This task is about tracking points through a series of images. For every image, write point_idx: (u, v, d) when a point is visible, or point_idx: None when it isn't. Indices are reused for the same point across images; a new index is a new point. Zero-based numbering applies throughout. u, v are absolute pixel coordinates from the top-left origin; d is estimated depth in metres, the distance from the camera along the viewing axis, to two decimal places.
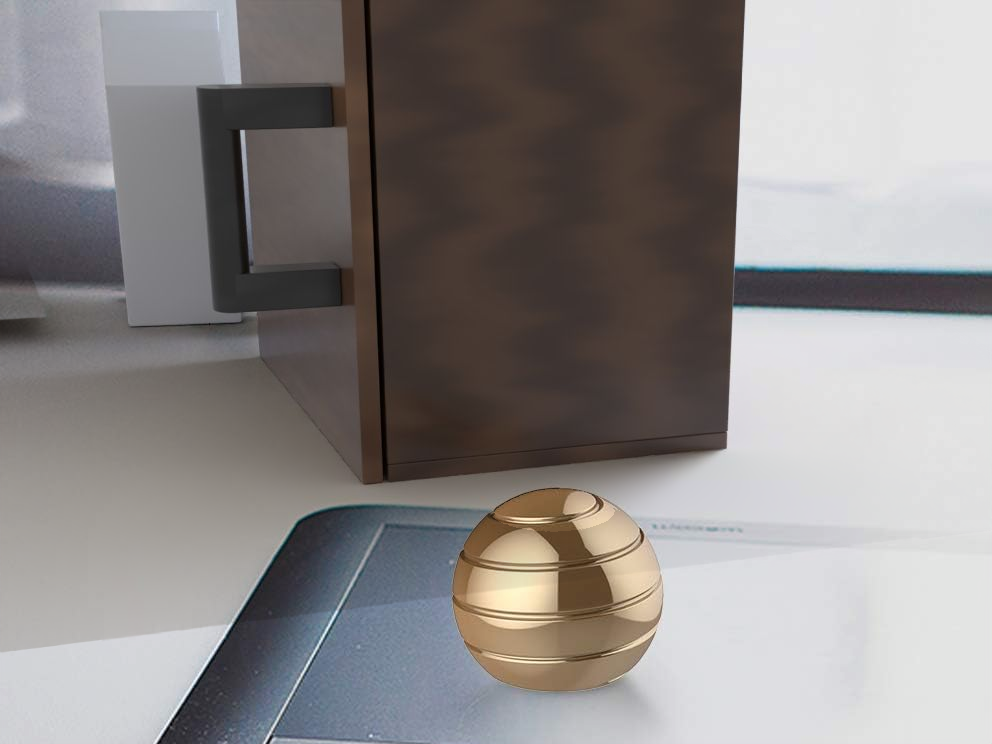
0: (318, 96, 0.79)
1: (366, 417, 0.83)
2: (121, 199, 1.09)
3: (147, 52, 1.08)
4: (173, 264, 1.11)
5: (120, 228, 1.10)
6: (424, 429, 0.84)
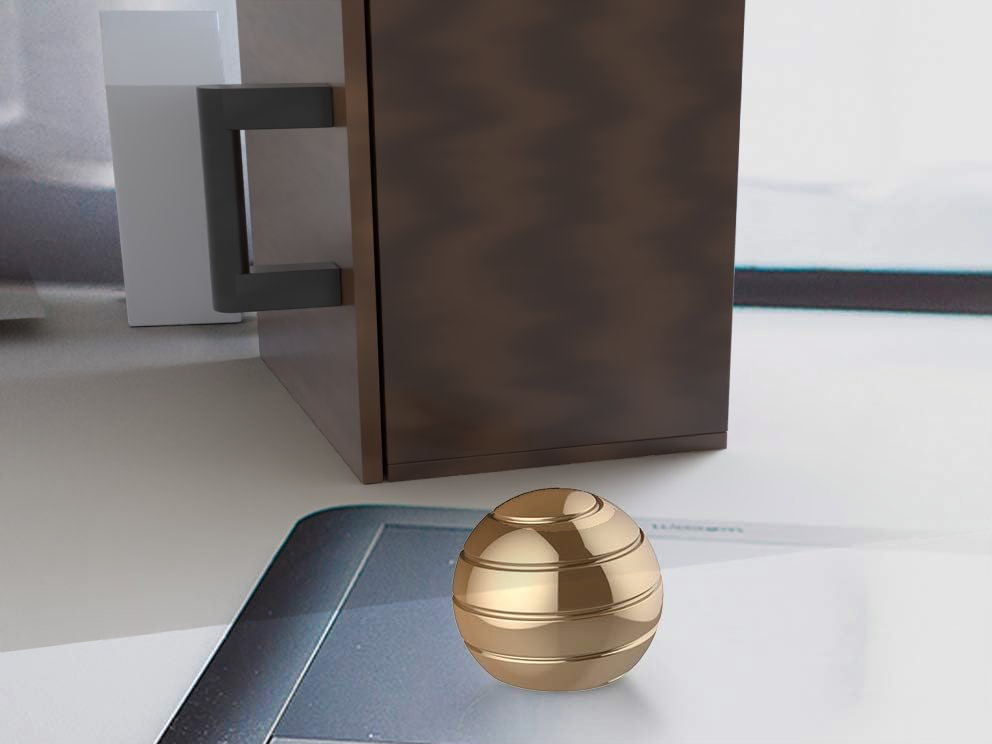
0: (318, 96, 0.79)
1: (366, 417, 0.83)
2: (121, 198, 1.09)
3: (147, 52, 1.08)
4: (173, 264, 1.11)
5: (120, 228, 1.10)
6: (424, 429, 0.84)
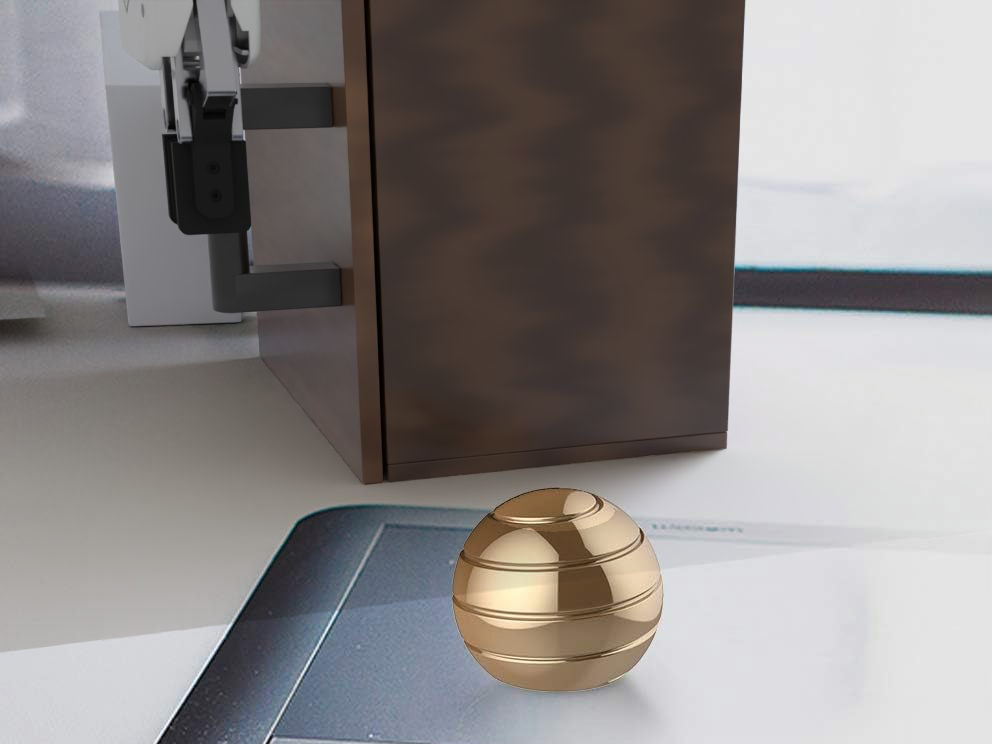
0: (318, 96, 0.79)
1: (366, 417, 0.83)
2: (121, 198, 1.09)
3: None
4: (173, 264, 1.11)
5: (120, 228, 1.10)
6: (424, 429, 0.84)
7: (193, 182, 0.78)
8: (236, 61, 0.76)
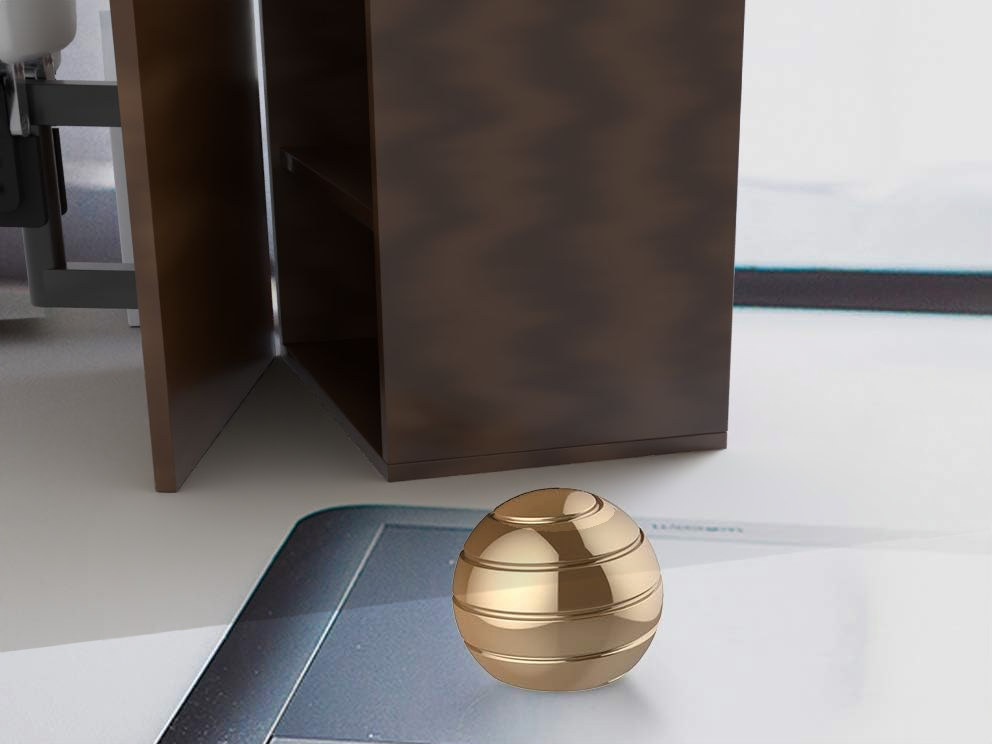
0: None
1: (155, 424, 0.81)
2: (121, 198, 1.09)
3: None
4: None
5: (120, 228, 1.10)
6: (424, 429, 0.84)
7: None
8: None
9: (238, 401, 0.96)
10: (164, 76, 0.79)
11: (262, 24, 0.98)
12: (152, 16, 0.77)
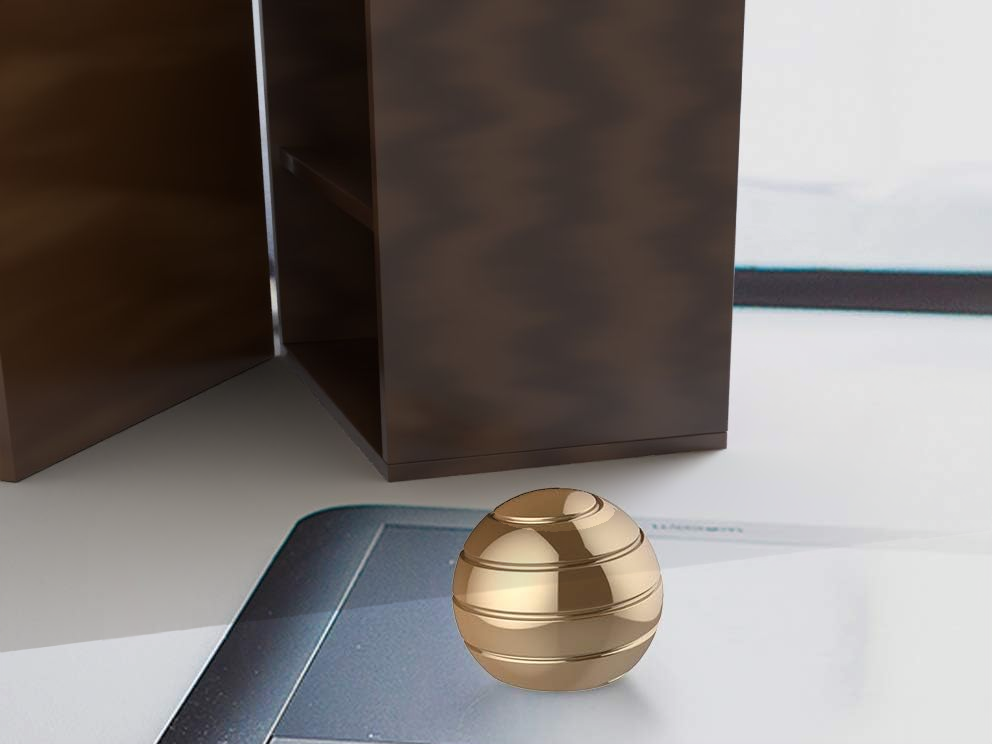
0: None
1: None
2: None
3: None
4: None
5: None
6: (424, 429, 0.84)
7: None
8: None
9: (177, 398, 0.96)
10: (24, 71, 0.80)
11: (262, 24, 0.98)
12: (1, 11, 0.78)
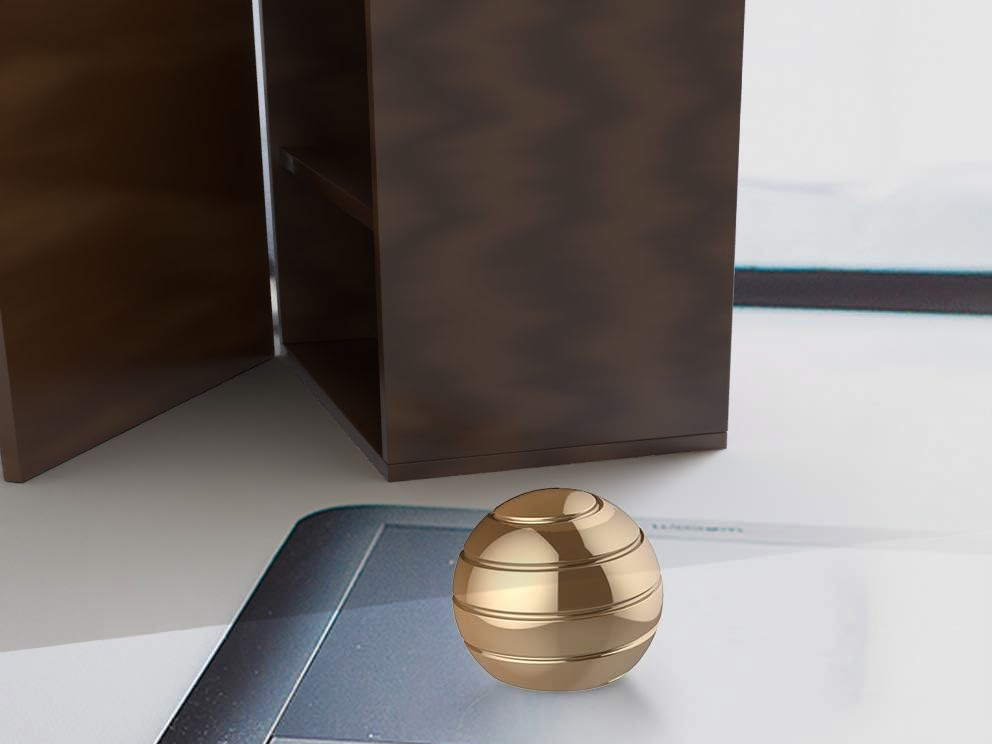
0: None
1: (0, 414, 0.82)
2: None
3: None
4: None
5: None
6: (424, 429, 0.84)
7: None
8: None
9: (179, 398, 0.96)
10: (29, 71, 0.80)
11: (262, 24, 0.98)
12: (6, 11, 0.78)
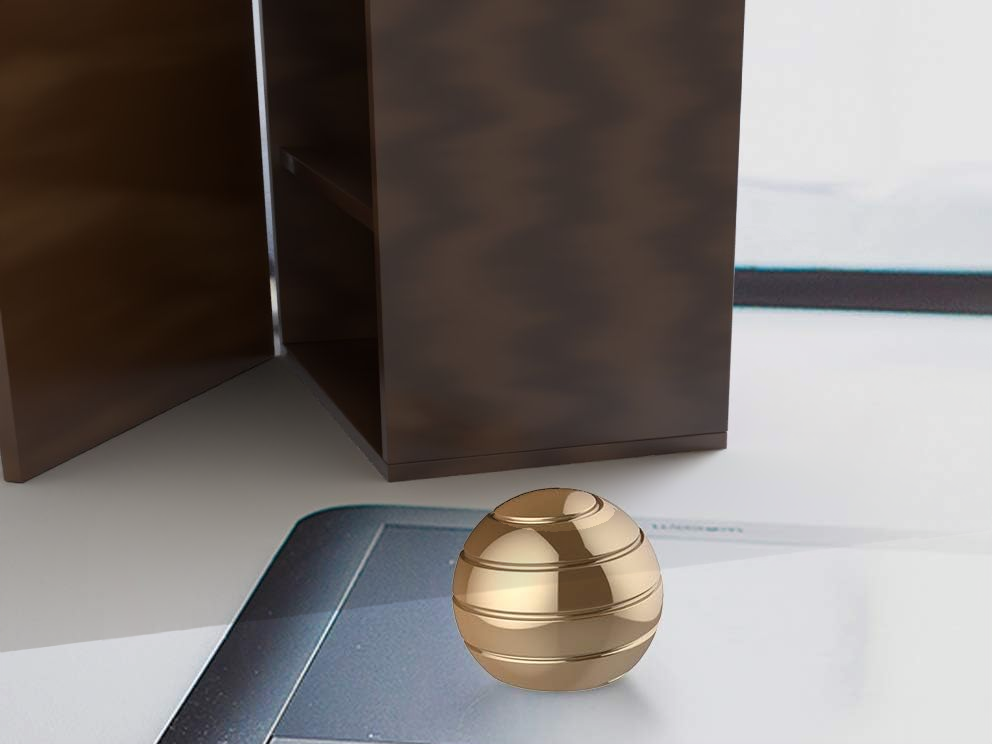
0: None
1: (0, 414, 0.82)
2: None
3: None
4: None
5: None
6: (424, 429, 0.84)
7: None
8: None
9: (179, 398, 0.96)
10: (29, 71, 0.80)
11: (262, 24, 0.98)
12: (6, 11, 0.78)
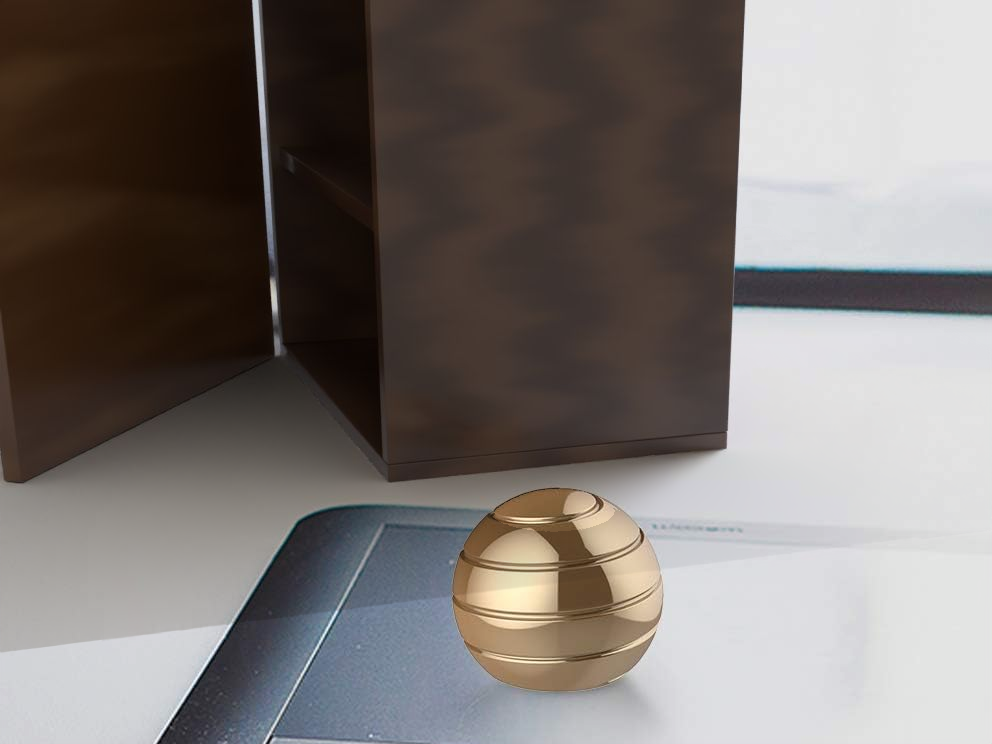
0: None
1: (0, 414, 0.82)
2: None
3: None
4: None
5: None
6: (424, 429, 0.84)
7: None
8: None
9: (179, 398, 0.96)
10: (29, 71, 0.80)
11: (262, 24, 0.98)
12: (6, 11, 0.78)
